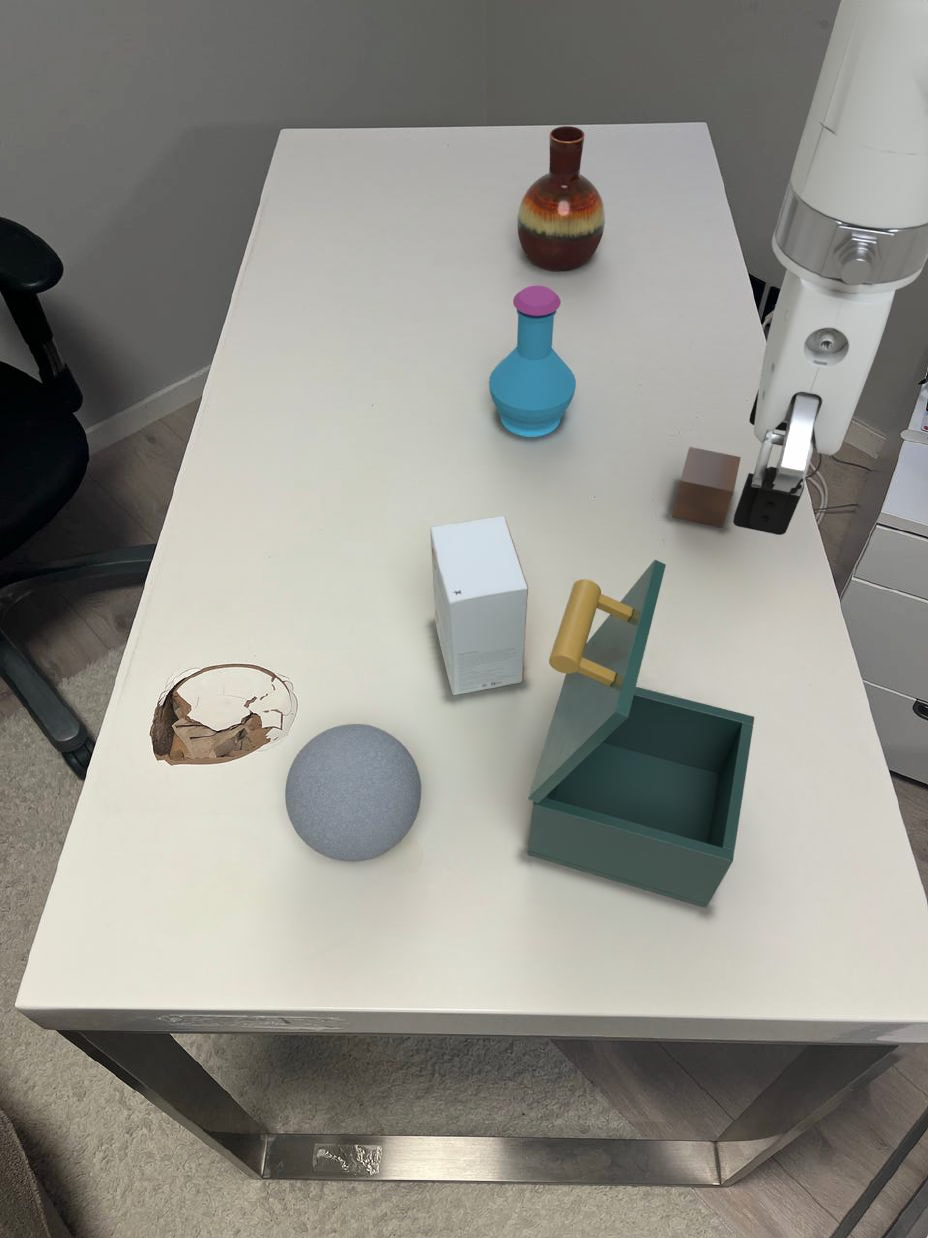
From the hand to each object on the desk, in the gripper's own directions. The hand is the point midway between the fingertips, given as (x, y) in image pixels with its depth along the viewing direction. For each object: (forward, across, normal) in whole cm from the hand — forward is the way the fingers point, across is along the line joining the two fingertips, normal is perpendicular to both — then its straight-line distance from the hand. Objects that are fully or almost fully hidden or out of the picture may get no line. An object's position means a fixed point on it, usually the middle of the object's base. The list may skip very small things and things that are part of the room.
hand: (765, 474), depth 59 cm
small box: (+25, -2, +18) cm, 31 cm away
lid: (+8, -14, +7) cm, 18 cm away
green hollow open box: (+24, -14, +3) cm, 28 cm away
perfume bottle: (+25, +30, +22) cm, 44 cm away
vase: (+25, +62, +26) cm, 71 cm away
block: (+24, +21, +2) cm, 32 cm away
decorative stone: (+25, -20, +23) cm, 39 cm away
